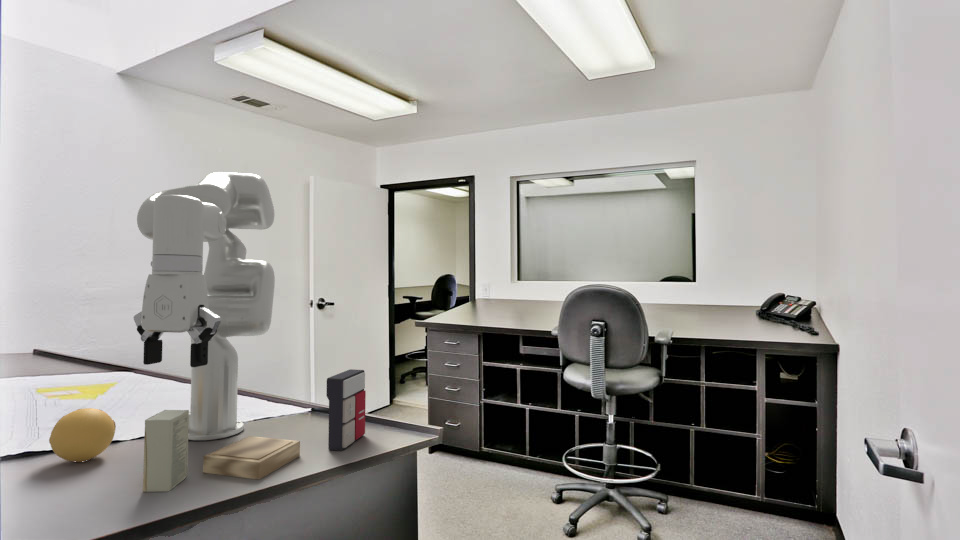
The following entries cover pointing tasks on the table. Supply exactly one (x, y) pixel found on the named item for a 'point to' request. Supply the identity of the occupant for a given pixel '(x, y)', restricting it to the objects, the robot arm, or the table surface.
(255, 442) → the oak plinth
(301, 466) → the table surface
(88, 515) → the table surface
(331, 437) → the grey red panelled box
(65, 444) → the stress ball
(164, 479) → the skincare box
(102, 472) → the table surface
